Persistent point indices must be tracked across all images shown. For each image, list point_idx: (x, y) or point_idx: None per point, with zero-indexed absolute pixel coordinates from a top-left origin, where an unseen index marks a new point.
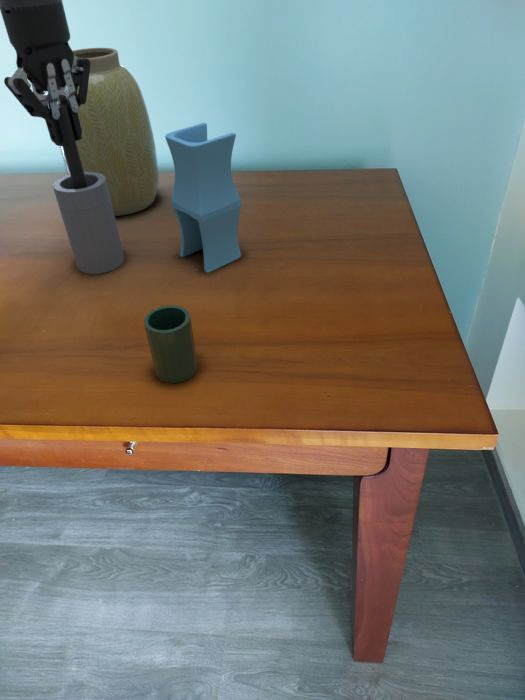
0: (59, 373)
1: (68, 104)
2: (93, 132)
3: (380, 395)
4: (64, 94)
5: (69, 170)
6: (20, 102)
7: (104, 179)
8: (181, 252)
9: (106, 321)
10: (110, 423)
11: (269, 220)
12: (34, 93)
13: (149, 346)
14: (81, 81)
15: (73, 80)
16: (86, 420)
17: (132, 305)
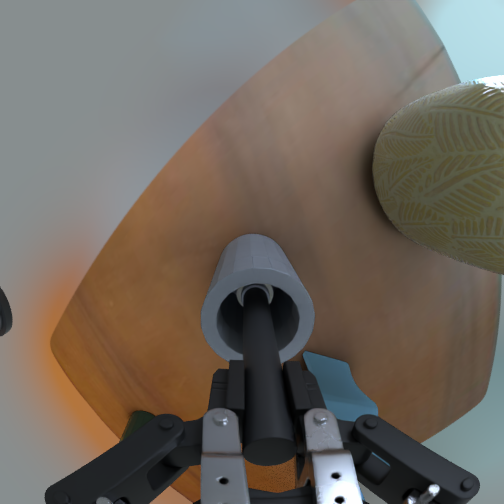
0: (88, 352)
1: (295, 461)
2: (458, 216)
3: (198, 490)
4: (298, 484)
5: (244, 332)
6: (112, 450)
7: (285, 360)
8: (305, 356)
9: (155, 351)
10: (88, 403)
11: (403, 381)
12: (202, 469)
13: (123, 432)
14: (380, 495)
15: (396, 476)
16: (79, 390)
17: (190, 359)
